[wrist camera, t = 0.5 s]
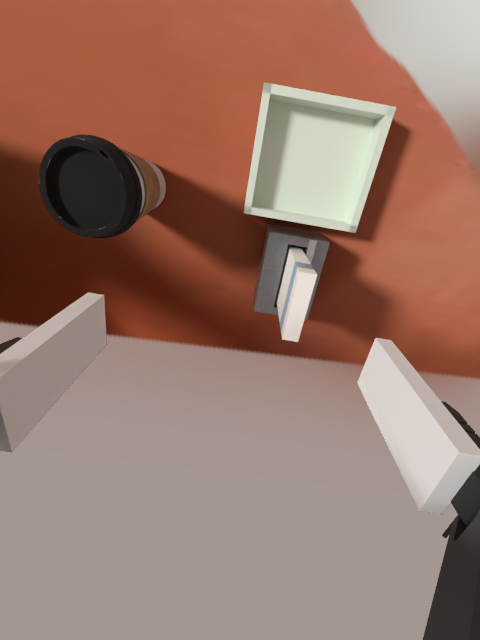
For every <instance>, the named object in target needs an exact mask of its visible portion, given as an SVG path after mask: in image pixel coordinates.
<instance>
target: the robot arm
mask: <svg viewBox="0 0 480 640" xmlns="http://www.w3.org/2000/svg"><path fill="white" fill-rule="evenodd" d="M106 345H107V339H106V320H105V302H104V295H101V294H95V293H89V292H88V293H86V294H85V295H84V296H82V297H81V298H79V299H78V300H76V301H75V302H74V303H72V304H71V305H69V306H68V307H66V308H65V309H64V310H62V311H61V312H59V313H58V314H56V315H55V316H54V317H52V318H51V319H49V320H48V321H46V322H45V323H44V324H42V325H41V326H39V327H38V328H36V329H35V330H34V331H32V332H31V333H29V334H28V335H26V336H25V337H24V338H18V337H17V338H14V339H12V340H9V341H7V342H4V343H2V344H0V451H7V452H13V451H14V450H15V448H16V447H17V446H18V445H19V444H20V443H21V442H22V441H23V439H24V438H25V437H26V436H27V435H28V434H29V432H30V431H31V430H32V429H33V428H34V427H35V426H36V425H37V423H38V422H39V421H40V420H41V419H42V418H43V416H44V415H45V414H46V413H47V412H48V411H49V410H50V409H51V407H52V406H53V405H54V404H55V403H56V402H57V401H58V399H59V398H60V397H61V396H62V395H63V394H64V393H65V392H66V390H67V389H68V388H69V387H70V386H71V385H72V384H73V382H74V381H75V380H76V379H77V378H78V377H79V376H80V374H81V373H82V372H83V371H84V370H85V369H86V368H87V366H88V365H89V364H90V363H91V362H92V361H93V359H95V357H96V356H97V355H98V354H99V353H100V352H101V350H102V349H103V348H104V347H105V346H106ZM357 383H358V385H359V388H360V390H361V392H362V394H363V396H364V398H365V400H366V402H367V404H368V406H369V408H370V410H371V413H372V415H373V417H374V419H375V421H376V423H377V425H378V427H379V429H380V431H381V433H382V435H383V437H384V439H385V442H386V444H387V446H388V448H389V450H390V452H391V454H392V456H393V458H394V460H395V462H396V464H397V466H398V468H399V470H400V473H401V475H402V477H403V479H404V481H405V483H406V485H407V487H408V489H409V491H410V493H411V495H412V497H413V500H414V502H415V504H416V506H417V508H418V510H419V511H420V512H427V513H434V514H441V515H442V514H443V513H444V512H445V510H446V509H447V507H448V506H449V505H450V504H451V503H452V504H453V506H454V508H455V510H456V511H457V513H458V516H457V517H456V518H455V519H454V521H453V522H452V523H451V524H450V526H449V527H448V528H447V530H446V531H445V532H444V533H443V535H442V536H443V537H445V538H447V536H448V535H449V539H448V543H447V547H446V550H445V554H444V558H443V563H442V566H441V570H440V574H439V578H438V582H437V586H436V590H435V594H434V598H433V602H432V605H431V609H430V614H429V618H428V621H427V626H426V629H425V633H424V637H423V640H480V437H479V436H478V435H477V434H475V431H474V430H473V429H472V428H471V427H470V426H469V425H467V422H466V421H465V420H464V419H463V417H462V416H461V415H460V414H459V413H458V412H457V411H456V410H455V409H453V408H452V407H451V406H450V405H448V404H447V403H446V402H442V401H440V400H439V399H438V397H437V396H436V395H435V394H434V392H433V391H432V390H431V389H430V387H429V386H428V385H427V384H426V383H425V381H424V380H423V379H422V378H421V376H420V375H419V374H418V373H417V371H416V370H415V369H414V368H413V366H412V365H411V364H410V363H409V362H408V360H407V359H406V358H405V357H404V355H403V354H402V353H401V352H400V350H399V349H398V348H397V347H396V346H395V344H394V343H393V342H392V341H391V340H387V339H381V338H375V340H374V343H373V345H372V348H371V350H370V353H369V355H368V358H367V360H366V363H365V365H364V367H363V370H362V372H361V375H360V378H359V380H358V382H357Z"/></svg>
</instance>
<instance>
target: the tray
mask: <svg viewBox="0 0 480 640" xmlns="http://www.w3.org/2000/svg"><path fill="white" fill-rule="evenodd" d="M395 110H396V107H393V106H388V105H382V104H377V103H372V102H366V101H361V100H356V99H350V98H345V97H340V96H334V95H329V94H324V93H318V92H313V91H308V90H302V89H297V88H292V87H286V86H281V85H276V84H271V83H265V82H264V87H263V93H262V99H261V105H260V112H259V118H258V124H257V131H256V137H255V143H254V150H253V156H252V162H251V169H250V175H249V181H248V188H247V194H246V200H245V207H244V213H245V214H251V215H257V216H262V217H268V218H274V219H279V220H285V221H290V222H296V223H302V224H307V225H313V226H319V227H324V228H330V229H336V230H341V231H347V232H352V233H356V230H357V227H358V224H359V220H360V217H361V214H362V211H363V208H364V205H365V202H366V199H367V196H368V193H369V190H370V187H371V184H372V180H373V177H374V174H375V171H376V168H377V165H378V162H379V159H380V156H381V153H382V150H383V147H384V144H385V140H386V137H387V134H388V131H389V128H390V125H391V122H392V119H393V116H394V113H395Z"/></svg>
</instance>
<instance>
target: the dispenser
mask: <svg viewBox="0 0 480 640" xmlns="http://www.w3.org/2000/svg"><path fill="white" fill-rule="evenodd" d="M288 244H289V245H295V246H300V247H301V248H302V250H303V252H304V253H305V255H306V257H307V258H308V260H309V262H310V263H311V265H312V266H313V268H314V270H315V272H316V273H317V278H316V281H315V285H314V288H313V292H312V295H311V299H310V302H309V306H308V309H307V313H306V316H305V319H304V320H308V316H309V313H310V309H311V306H312V303H313V299H314V296H315V292H316V289H317V285H318V282H319V279H320V275H321V272H322V268H323V265H324V261H325V258H326V255H327V251H328V248H329V244H330V242H329V241H328V240H327V239H326V238H325V237H324V236H323V235H322V234H320V233H316V232H310V231H305V230H299V229H293V228H288V227H282V226H276V225H271V224H268V226H267V231H266V236H265V241H264V246H263V252H262V257H261V262H260V267H259V272H258V277H257V282H256V287H255V292H254V311H256V312H262V313H268V314H273V315H278V308H277V301H276V295H277V291H278V287H279V282H280V278H281V274H282V269H283V265H284V261H285V256H286V252H287V248H288Z"/></svg>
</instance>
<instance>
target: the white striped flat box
mask: <svg viewBox="0 0 480 640" xmlns="http://www.w3.org/2000/svg"><path fill="white" fill-rule="evenodd" d="M316 278H317V273H316V272H315V270H314V268H313V266H312V265H311V263H310V262H309V260H308V258H307V257H306V255H305V253H304V252H303V250H302V248H301V247H300V246H295V245H289V244H288V248H287V252H286V256H285V261H284V265H283V269H282V274H281V278H280V282H279V287H278V291H277V295H276V301H277V308H278V315H279V322H280V330H281V335H282V339H283V340H289V341H295V342H298V340H299V337H300V333H301V330H302V326H303V323H304V319H305V316H306V313H307V309H308V306H309V302H310V299H311V295H312V292H313V288H314V285H315V281H316Z"/></svg>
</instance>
